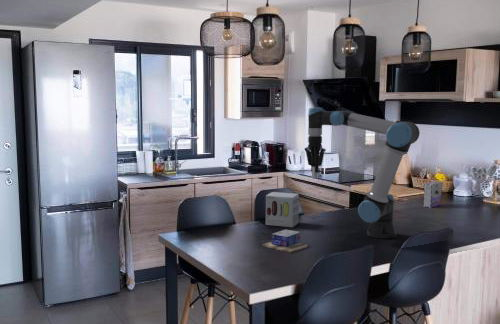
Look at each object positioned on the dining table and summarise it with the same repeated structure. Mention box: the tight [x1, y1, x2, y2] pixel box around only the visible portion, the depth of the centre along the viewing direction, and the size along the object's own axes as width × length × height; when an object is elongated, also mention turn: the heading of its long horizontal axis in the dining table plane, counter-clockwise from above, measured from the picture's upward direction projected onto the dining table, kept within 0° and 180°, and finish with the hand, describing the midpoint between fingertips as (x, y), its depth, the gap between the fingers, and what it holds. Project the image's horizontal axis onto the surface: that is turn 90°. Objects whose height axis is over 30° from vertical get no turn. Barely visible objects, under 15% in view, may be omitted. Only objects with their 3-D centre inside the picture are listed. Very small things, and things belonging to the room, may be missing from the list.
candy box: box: [422, 181, 443, 209], centre depth 355 cm, size 14×6×16 cm, turn 130°
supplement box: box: [265, 191, 300, 228], centre depth 306 cm, size 17×13×18 cm
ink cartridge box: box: [270, 229, 301, 247], centre depth 260 cm, size 10×6×14 cm
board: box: [261, 241, 308, 254], centre depth 259 cm, size 18×14×1 cm
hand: (314, 178), depth 285 cm, fingers closed
